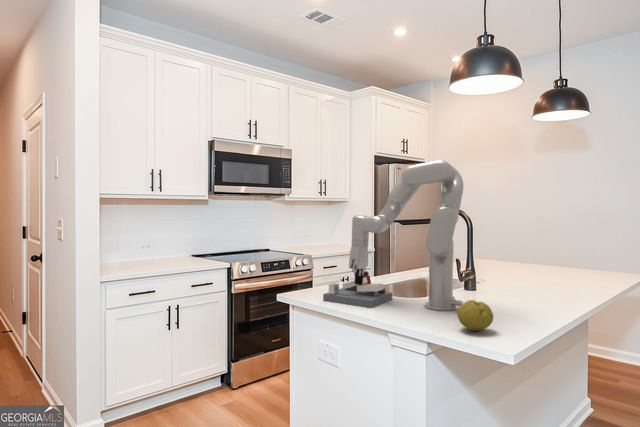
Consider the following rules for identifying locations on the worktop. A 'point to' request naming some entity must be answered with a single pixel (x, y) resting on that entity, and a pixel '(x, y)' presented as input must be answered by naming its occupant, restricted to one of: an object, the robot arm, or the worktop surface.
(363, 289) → the rocker
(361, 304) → the panel
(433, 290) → the robot arm
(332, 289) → the slider
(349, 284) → the rocker
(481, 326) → the fruit
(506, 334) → the worktop surface
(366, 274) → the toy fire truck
